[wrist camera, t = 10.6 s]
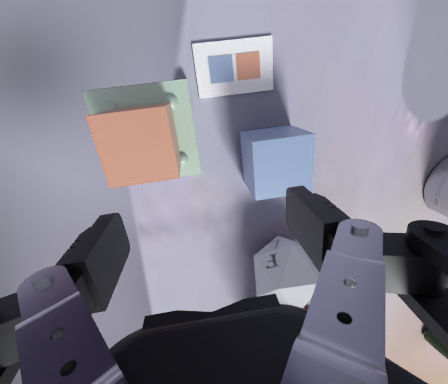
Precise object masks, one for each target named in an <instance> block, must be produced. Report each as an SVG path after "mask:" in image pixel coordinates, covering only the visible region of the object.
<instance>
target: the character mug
mask: <svg viewBox="0 0 448 384" xmlns="http://www.w3.org/2000/svg"><path fill="white" fill-rule="evenodd" d="M424 338H425V340H426V341H428V342H429V343H430V344H431V345H432V346H433V347H434V348H435V349H436V350H438V351H439V352H440V353H441V354H442V355H443V356H445V357H446V358H447V359H448V350H447V349H446V348H445V347H444V346H443V345H442V343H441V342H440V341H439V340H438V339H437V338H436V337H435V336H434V335H433V333H432V332H431V331H430V330H429V329H427V330H426V331H425V333H424Z"/></svg>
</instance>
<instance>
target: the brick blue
mask: <svg viewBox="0 0 448 384" xmlns="http://www.w3.org/2000/svg"><path fill="white" fill-rule="evenodd" d="M314 141H315V134H314V133H311V132H309V131H306V130H303V129H300V128H297V127H294V126H292V125H287V126H280V127H272V128H264V129H257V130H249V131H241V132H240V142H241V155H242V168H243V181H244V182H245V184H246V186H247V187H248V189H249V191H250V192H251V194H252V196H253V197H254V199H255V201H258V200H264V199H270V198H277V197H283V196H286V190H287V188H289V187H295V186H302V185H303V186H305V187H306V188H307V189H308V190H309V191H310V192H312V183H313V162H314Z"/></svg>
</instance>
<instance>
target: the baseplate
mask: <svg viewBox="0 0 448 384" xmlns="http://www.w3.org/2000/svg"><path fill="white" fill-rule="evenodd" d="M82 93H83V96H84V100H85V103H86V105H87V109H88V112H89V115H92V114H95V113H99V112H103V111H107V110H112V109H120V108H128V107H136V106H144V105H152V104H160V103H168V102H171V107H172V112H173V118H174V123H175V128H176V133H177V139H178V144H179V149H180V155H181V169H180V177H186V176H193V175H200V174H201V167H200V161H199V154H198V148H197V141H196V135H195V129H194V122H193V116H192V109H191V103H190V96H189V90H188V84H187V79H181V80H172V81H164V82H155V83H147V84H138V85H130V86H120V87H112V88H103V89H95V90H86V91H82Z"/></svg>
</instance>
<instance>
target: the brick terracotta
mask: <svg viewBox="0 0 448 384" xmlns="http://www.w3.org/2000/svg"><path fill="white" fill-rule="evenodd" d="M86 119H87V122H88V125H89V128H90V131H91V134H92V137H93V140H94V143H95V146H96V149H97V152H98V155H99V158H100V161H101V164H102V167H103V170H104V173H105V176H106V180H107V183H108V186H109V188H110V189H111V188H118V187H124V186H131V185H138V184H144V183H151V182H158V181H164V180H171V179H178V178H180V169H181V155H180V149H179V144H178V139H177V133H176V128H175V123H174V118H173V112H172V107H171V102H168V103H160V104H152V105H144V106H136V107H128V108H120V109H112V110H107V111H103V112H99V113H95V114H92V115H88V116H86Z"/></svg>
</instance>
